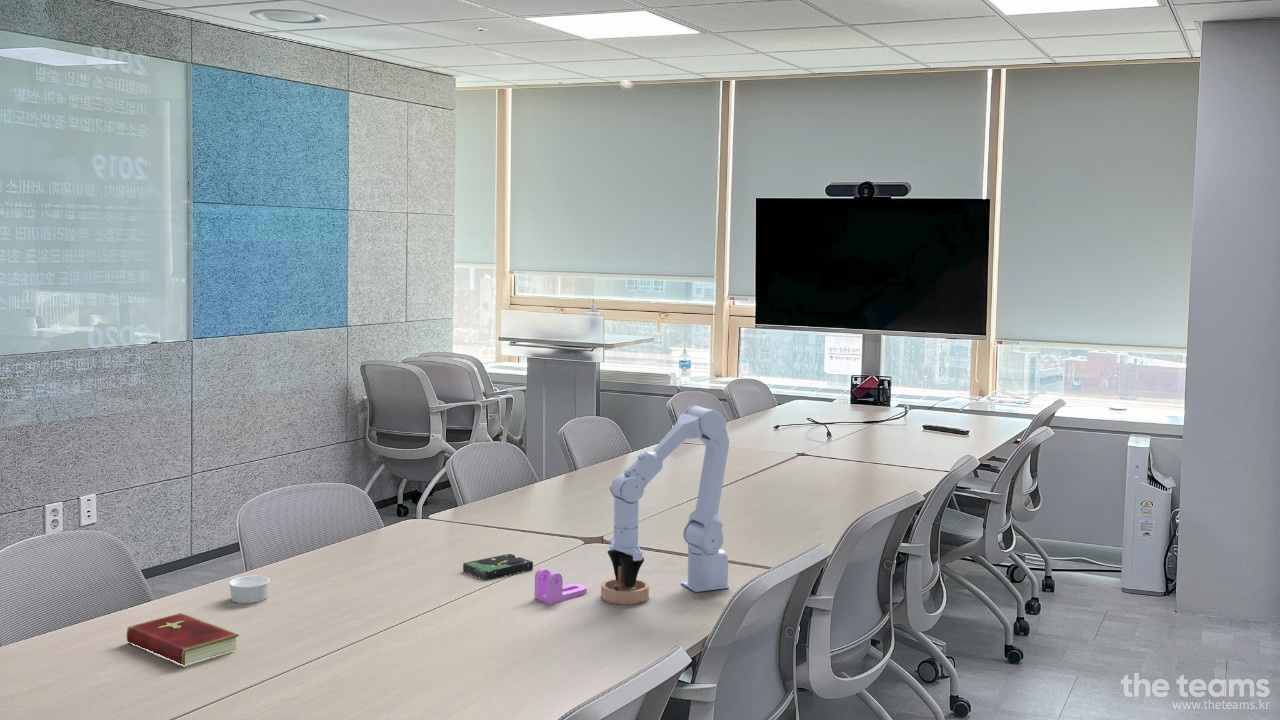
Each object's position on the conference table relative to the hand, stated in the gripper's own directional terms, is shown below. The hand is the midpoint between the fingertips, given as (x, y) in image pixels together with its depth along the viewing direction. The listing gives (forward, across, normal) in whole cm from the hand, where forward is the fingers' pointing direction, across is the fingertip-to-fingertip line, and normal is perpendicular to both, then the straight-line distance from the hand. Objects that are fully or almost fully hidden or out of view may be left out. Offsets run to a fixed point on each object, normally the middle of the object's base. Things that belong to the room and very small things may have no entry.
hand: (625, 583), depth 264 cm
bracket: (+4, -7, -13) cm, 15 cm away
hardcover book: (+4, -2, -96) cm, 97 cm away
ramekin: (+4, -31, -81) cm, 87 cm away
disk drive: (+4, -32, -21) cm, 39 cm away
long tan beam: (+3, 0, 0) cm, 3 cm away
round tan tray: (+3, 0, 0) cm, 3 cm away
